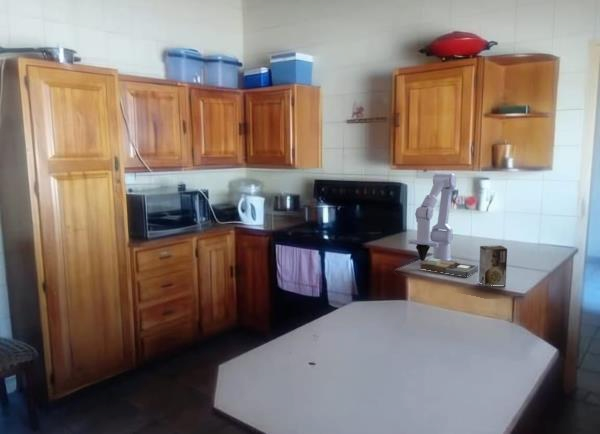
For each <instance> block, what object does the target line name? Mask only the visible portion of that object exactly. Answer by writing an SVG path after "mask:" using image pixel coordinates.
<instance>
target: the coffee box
mask: <svg viewBox="0 0 600 434" xmlns="http://www.w3.org/2000/svg"><path fill="white" fill-rule="evenodd" d="M507 264H508V248H506V247H505V246H503V245H480V246H479V266H478V283H479V282H480V283H482V284H483V285H484V286H491V285H492V286H493V285H506V286H507ZM480 283H479V284H480ZM483 285H482V286H483ZM484 286H483V287H484Z"/></svg>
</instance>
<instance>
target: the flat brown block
mask: <svg viewBox="0 0 600 434" xmlns="http://www.w3.org/2000/svg"><path fill="white" fill-rule="evenodd" d="M434 259H436V258H434ZM457 263H458V261H456V260H450V261H449V260H442V259H441V262H440V264H439V265H430V264H427V260H425V261H423V262H421V263H420V269H426V270H431V271H437V272H443V273H446V268H447V269H454V268H456V267H457Z"/></svg>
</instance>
